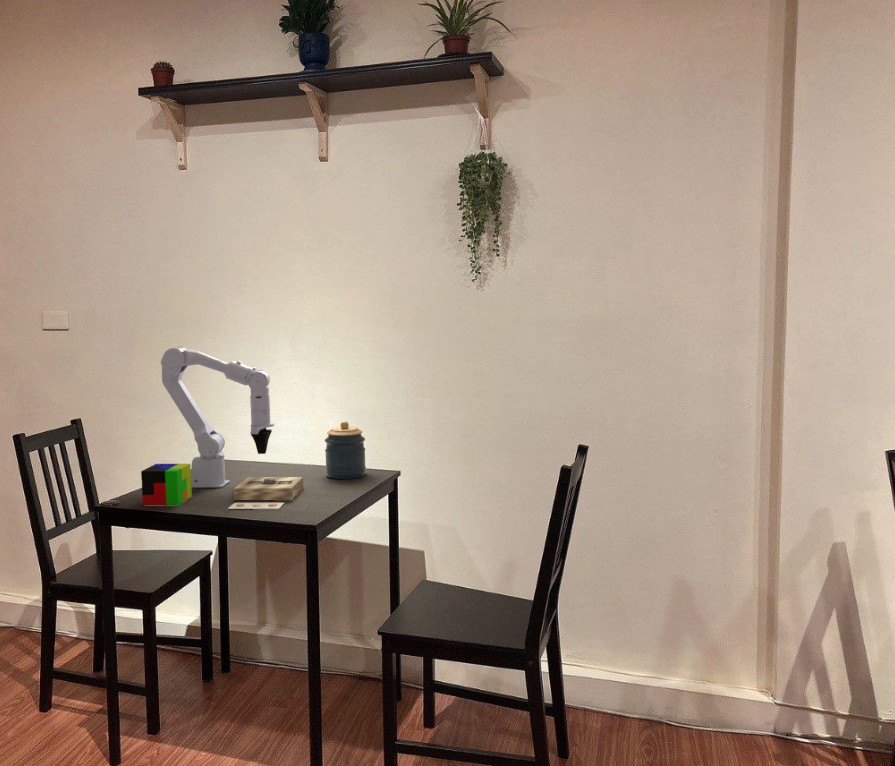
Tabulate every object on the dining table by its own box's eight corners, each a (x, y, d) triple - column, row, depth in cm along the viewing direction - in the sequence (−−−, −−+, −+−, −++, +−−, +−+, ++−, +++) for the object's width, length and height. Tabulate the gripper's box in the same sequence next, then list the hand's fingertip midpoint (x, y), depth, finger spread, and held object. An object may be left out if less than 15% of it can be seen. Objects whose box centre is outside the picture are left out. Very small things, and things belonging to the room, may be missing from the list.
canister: (359, 480, 238) (358, 424, 236) (320, 479, 240) (318, 424, 239) (370, 471, 251) (369, 418, 249) (333, 470, 253) (331, 418, 251)
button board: (234, 500, 215) (233, 488, 214) (249, 488, 229) (248, 477, 228) (292, 500, 214) (291, 488, 214) (303, 488, 228) (303, 477, 228)
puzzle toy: (157, 497, 220) (156, 463, 219) (191, 497, 219) (190, 463, 218) (142, 506, 210) (141, 471, 209) (178, 506, 209) (176, 471, 208)
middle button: (262, 487, 220) (262, 480, 219) (265, 484, 223) (265, 478, 223) (273, 487, 220) (273, 480, 219) (276, 484, 223) (276, 478, 223)
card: (227, 509, 205) (227, 508, 205) (234, 503, 211) (234, 502, 211) (279, 509, 205) (278, 508, 205) (284, 503, 211) (284, 502, 211)
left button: (247, 491, 220) (247, 484, 220) (250, 488, 223) (250, 482, 223) (258, 491, 220) (258, 484, 220) (261, 488, 223) (261, 482, 223)
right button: (278, 491, 220) (277, 484, 219) (281, 488, 223) (280, 482, 223) (289, 491, 219) (288, 484, 219) (291, 488, 223) (291, 481, 222)
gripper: (266, 413, 226) (268, 458, 227) (279, 406, 240) (280, 449, 242) (243, 413, 226) (245, 458, 228) (257, 406, 241) (258, 449, 242)
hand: (262, 453), depth 235 cm, fingers closed
